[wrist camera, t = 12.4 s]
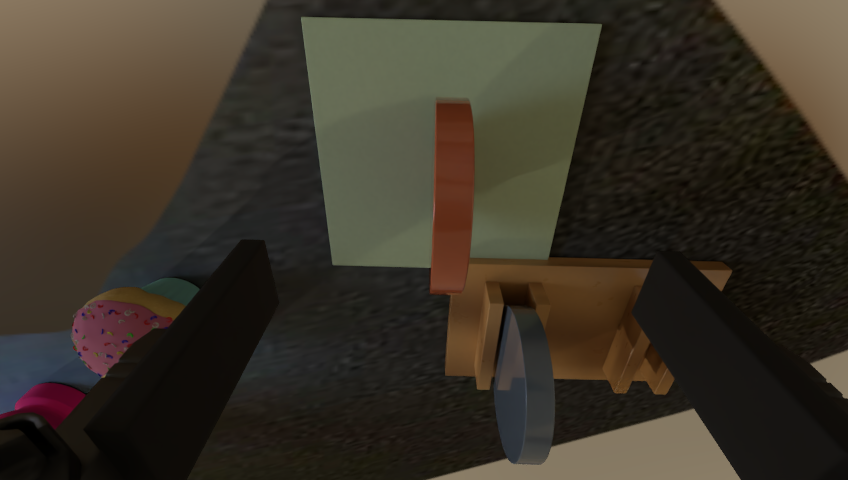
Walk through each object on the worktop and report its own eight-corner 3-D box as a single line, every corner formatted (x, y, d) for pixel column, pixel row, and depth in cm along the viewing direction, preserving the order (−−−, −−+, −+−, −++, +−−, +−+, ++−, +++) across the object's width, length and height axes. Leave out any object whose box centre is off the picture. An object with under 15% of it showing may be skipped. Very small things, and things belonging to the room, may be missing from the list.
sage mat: (302, 17, 20) (300, 16, 20) (599, 23, 20) (602, 24, 20) (333, 262, 28) (332, 265, 28) (544, 267, 28) (545, 270, 28)
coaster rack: (452, 254, 28) (455, 285, 24) (721, 261, 28) (759, 292, 24) (444, 364, 34) (446, 400, 31) (664, 370, 34) (689, 407, 31)
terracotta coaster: (434, 82, 21) (436, 123, 13) (462, 83, 21) (483, 124, 13) (429, 234, 26) (428, 337, 18) (451, 235, 26) (462, 338, 18)
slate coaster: (503, 276, 27) (537, 395, 19) (525, 276, 27) (569, 396, 19) (488, 369, 32) (509, 496, 24) (506, 369, 32) (534, 496, 24)
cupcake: (204, 351, 33) (102, 499, 23) (107, 300, 30) (-58, 443, 20) (252, 297, 30) (159, 442, 20) (149, 234, 27) (-22, 366, 17)
